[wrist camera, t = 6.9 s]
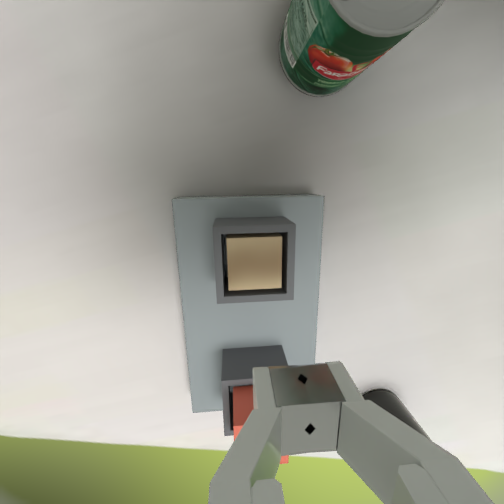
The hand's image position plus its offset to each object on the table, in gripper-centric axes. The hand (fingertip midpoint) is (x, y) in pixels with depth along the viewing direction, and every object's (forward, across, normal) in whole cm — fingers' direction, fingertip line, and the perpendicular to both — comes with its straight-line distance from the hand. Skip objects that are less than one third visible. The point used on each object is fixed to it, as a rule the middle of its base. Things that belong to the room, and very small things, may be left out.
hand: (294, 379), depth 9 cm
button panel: (+20, 0, +7) cm, 21 cm away
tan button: (+17, 0, 0) cm, 17 cm away
